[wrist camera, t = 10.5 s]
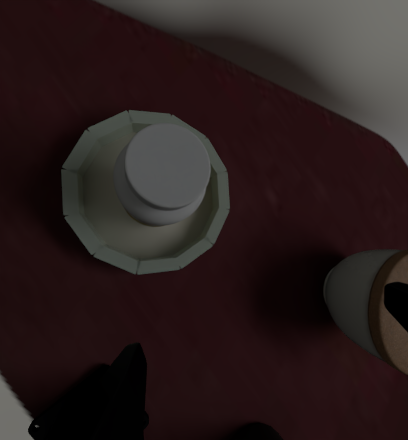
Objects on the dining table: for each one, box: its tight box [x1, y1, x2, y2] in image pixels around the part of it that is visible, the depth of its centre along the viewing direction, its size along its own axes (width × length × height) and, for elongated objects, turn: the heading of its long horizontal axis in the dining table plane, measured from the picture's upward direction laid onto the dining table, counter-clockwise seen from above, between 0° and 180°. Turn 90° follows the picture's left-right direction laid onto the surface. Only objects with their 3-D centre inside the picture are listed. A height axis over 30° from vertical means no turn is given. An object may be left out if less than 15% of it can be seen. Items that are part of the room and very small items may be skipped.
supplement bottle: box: [113, 123, 211, 227], centre depth 14 cm, size 5×5×10 cm
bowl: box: [61, 110, 230, 275], centre depth 19 cm, size 13×13×2 cm
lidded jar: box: [323, 249, 408, 375], centre depth 22 cm, size 11×11×9 cm
